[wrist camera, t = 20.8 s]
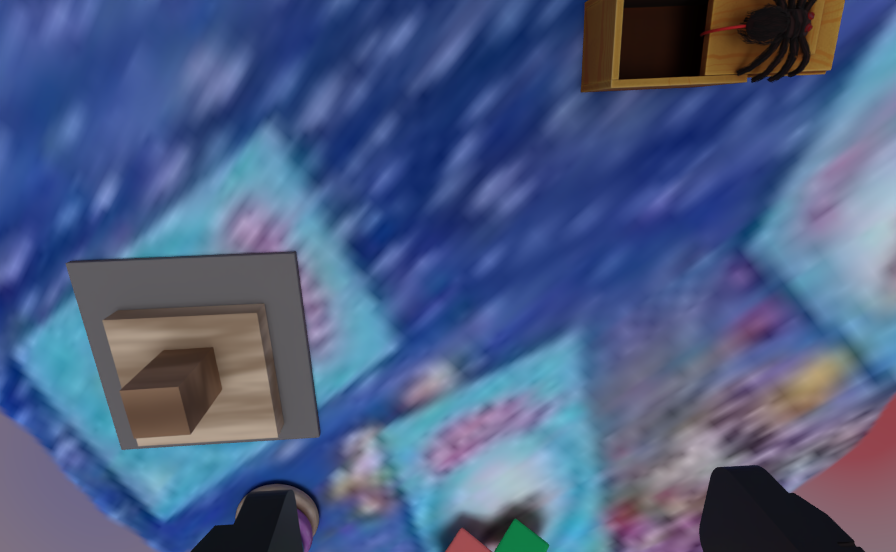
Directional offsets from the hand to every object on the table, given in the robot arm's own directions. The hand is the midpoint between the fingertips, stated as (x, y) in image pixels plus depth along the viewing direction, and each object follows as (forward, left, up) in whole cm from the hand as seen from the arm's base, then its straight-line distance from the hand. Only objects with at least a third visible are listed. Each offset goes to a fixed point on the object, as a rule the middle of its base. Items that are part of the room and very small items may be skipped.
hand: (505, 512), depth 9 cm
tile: (+7, -21, -30) cm, 37 cm away
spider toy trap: (-12, +19, -32) cm, 39 cm away
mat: (+12, -21, -32) cm, 40 cm away
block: (+12, -21, -29) cm, 38 cm away
